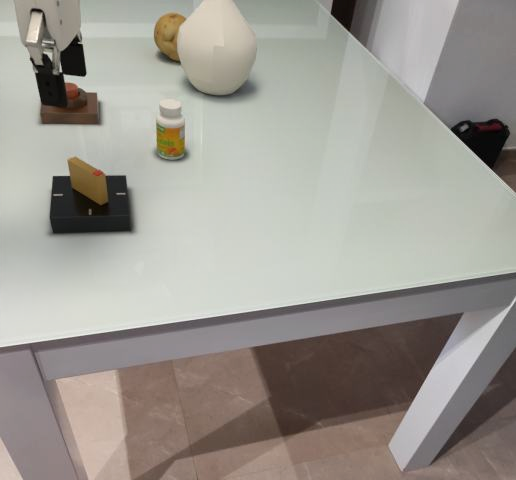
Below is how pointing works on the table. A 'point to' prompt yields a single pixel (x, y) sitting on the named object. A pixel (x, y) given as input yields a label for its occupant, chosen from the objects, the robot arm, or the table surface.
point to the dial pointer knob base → (89, 207)
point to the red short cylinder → (71, 90)
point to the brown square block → (73, 110)
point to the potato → (168, 34)
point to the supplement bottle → (170, 130)
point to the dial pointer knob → (88, 180)
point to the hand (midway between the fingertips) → (65, 89)
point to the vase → (216, 47)
